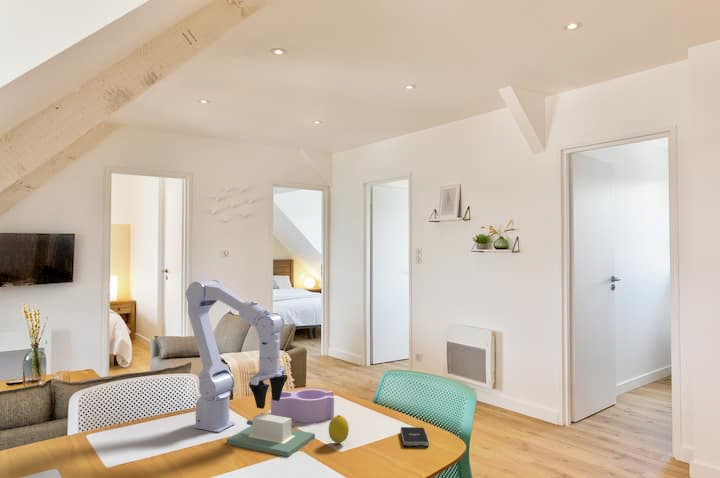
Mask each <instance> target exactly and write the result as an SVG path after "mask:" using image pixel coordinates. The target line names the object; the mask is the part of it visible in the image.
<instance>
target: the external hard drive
mask: <svg viewBox="0 0 720 478" xmlns="http://www.w3.org/2000/svg"><path fill="white" fill-rule="evenodd" d="M400 436H401V440H402V445H403V447H404V448H414V449H415V448H417V449H418V448H419V449H421V448H423V449H426V448H429V447H430V446H429V445H430V441H429V438H428V436H427V432H426V430H425V427H419V426H415V427H414V426H411V427H409V426H401V427H400Z"/></svg>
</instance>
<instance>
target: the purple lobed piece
mask: <svg viewBox="0 0 720 478" xmlns="http://www.w3.org/2000/svg"><path fill="white" fill-rule="evenodd" d="M270 415H275V416H281V417H287V418H291V421H298V422H300V421H301V423H318V422H323V421H326V420H332V419H333V418H334V417H335V396H334V390H324V389H319V388H306V389H305V388H304V389H299V390H294V391H290V390H289V391H288V390H282V393H281V397H280V400H279V401H275V400H272V396H270Z"/></svg>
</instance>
